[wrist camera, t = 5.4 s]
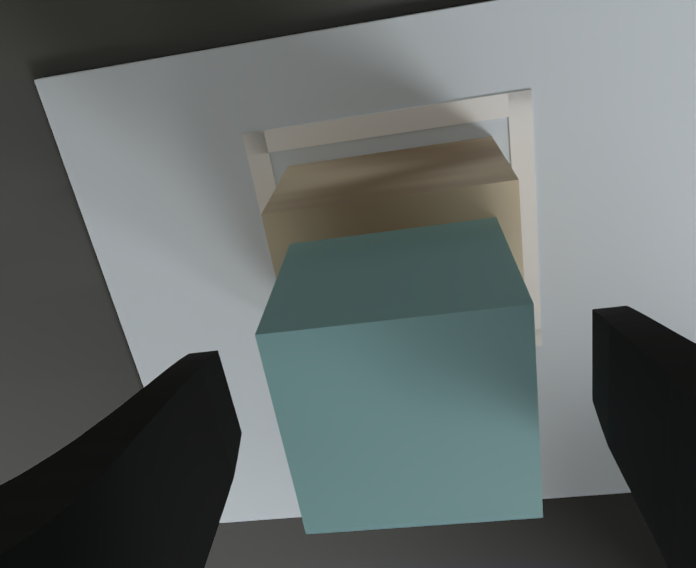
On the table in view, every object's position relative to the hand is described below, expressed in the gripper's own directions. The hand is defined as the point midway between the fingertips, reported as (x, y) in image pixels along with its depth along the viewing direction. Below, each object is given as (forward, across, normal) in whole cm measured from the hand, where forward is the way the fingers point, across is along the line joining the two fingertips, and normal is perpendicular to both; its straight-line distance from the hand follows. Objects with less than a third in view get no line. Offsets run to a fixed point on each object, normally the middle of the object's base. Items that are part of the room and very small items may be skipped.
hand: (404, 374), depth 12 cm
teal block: (+3, 0, 0) cm, 3 cm away
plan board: (+7, 0, +2) cm, 7 cm away
